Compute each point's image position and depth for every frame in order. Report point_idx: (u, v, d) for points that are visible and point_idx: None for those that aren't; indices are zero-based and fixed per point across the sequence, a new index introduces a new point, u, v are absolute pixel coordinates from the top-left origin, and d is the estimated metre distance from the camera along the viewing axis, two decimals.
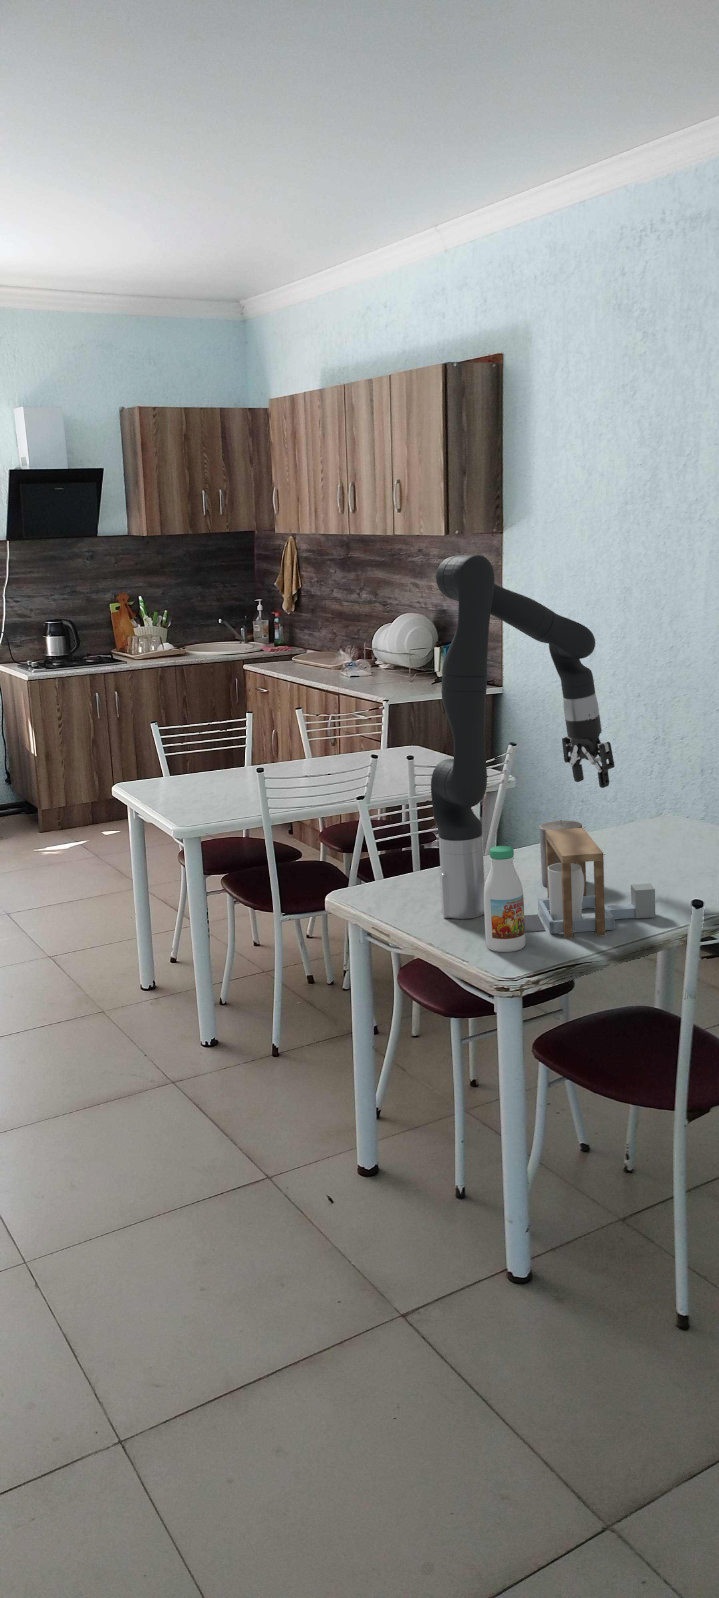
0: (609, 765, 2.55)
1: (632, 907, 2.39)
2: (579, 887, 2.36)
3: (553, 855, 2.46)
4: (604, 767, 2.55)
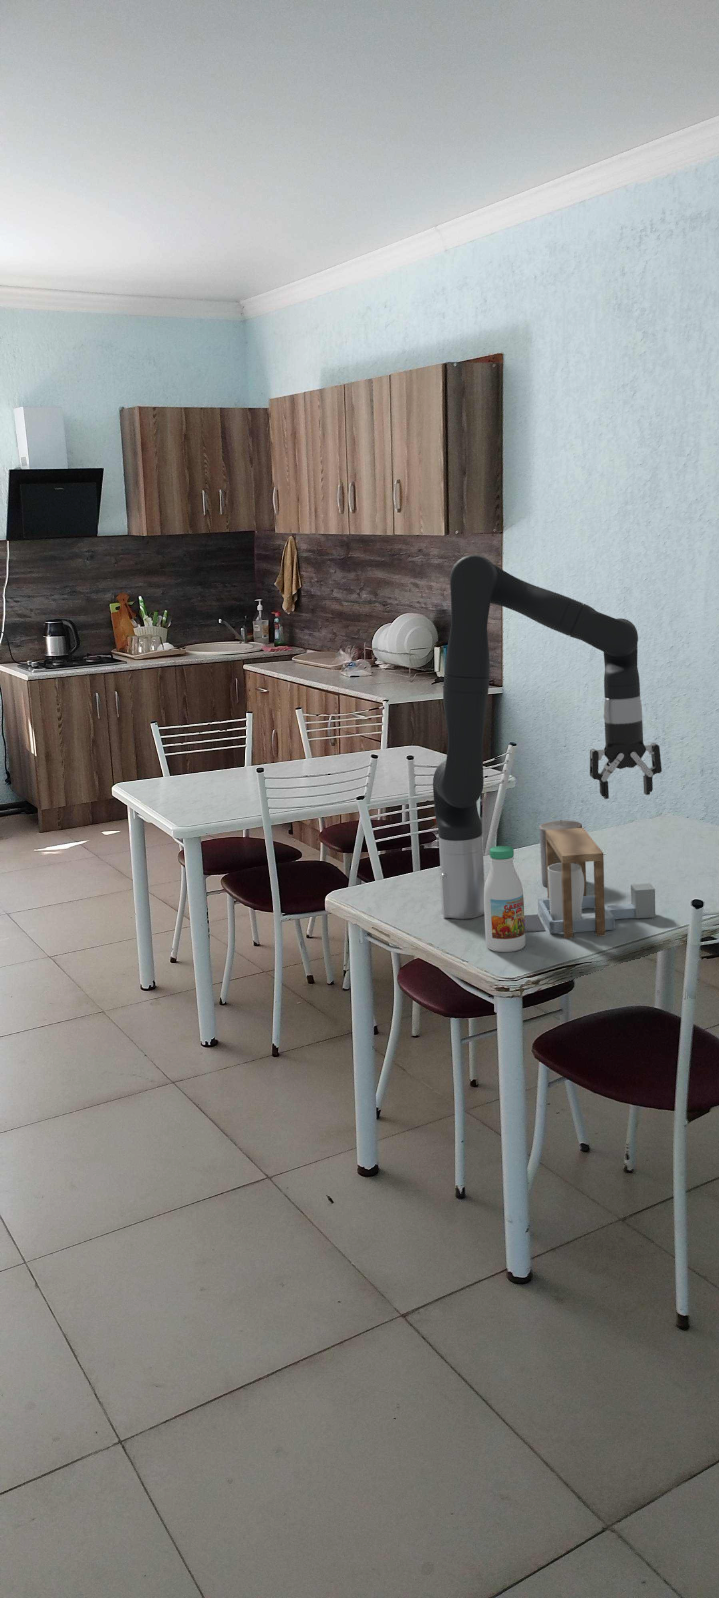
0: None
1: (632, 907, 2.39)
2: (579, 887, 2.36)
3: (553, 855, 2.46)
4: (659, 769, 2.38)
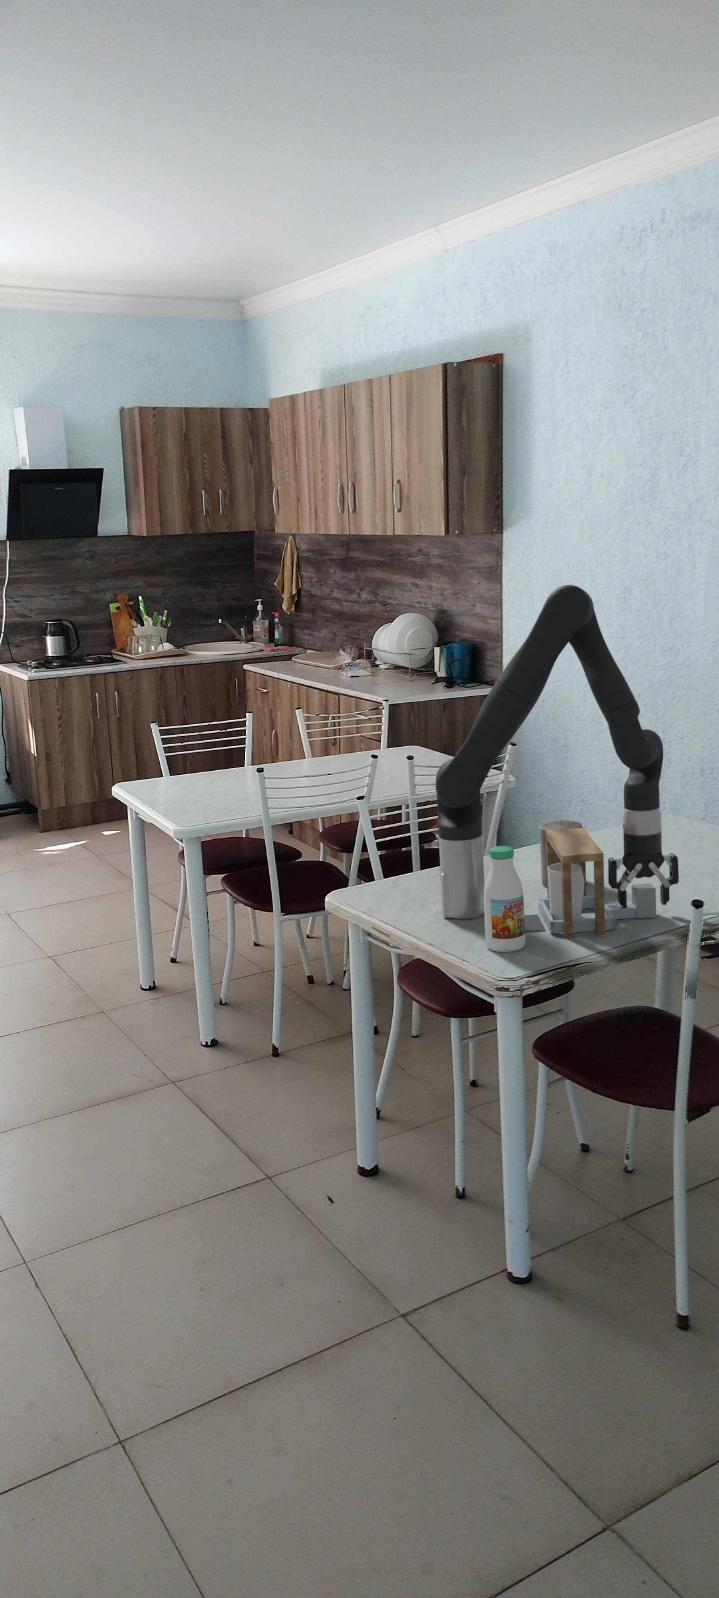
0: None
1: (633, 907, 2.39)
2: (579, 887, 2.36)
3: (553, 855, 2.46)
4: (676, 880, 2.38)
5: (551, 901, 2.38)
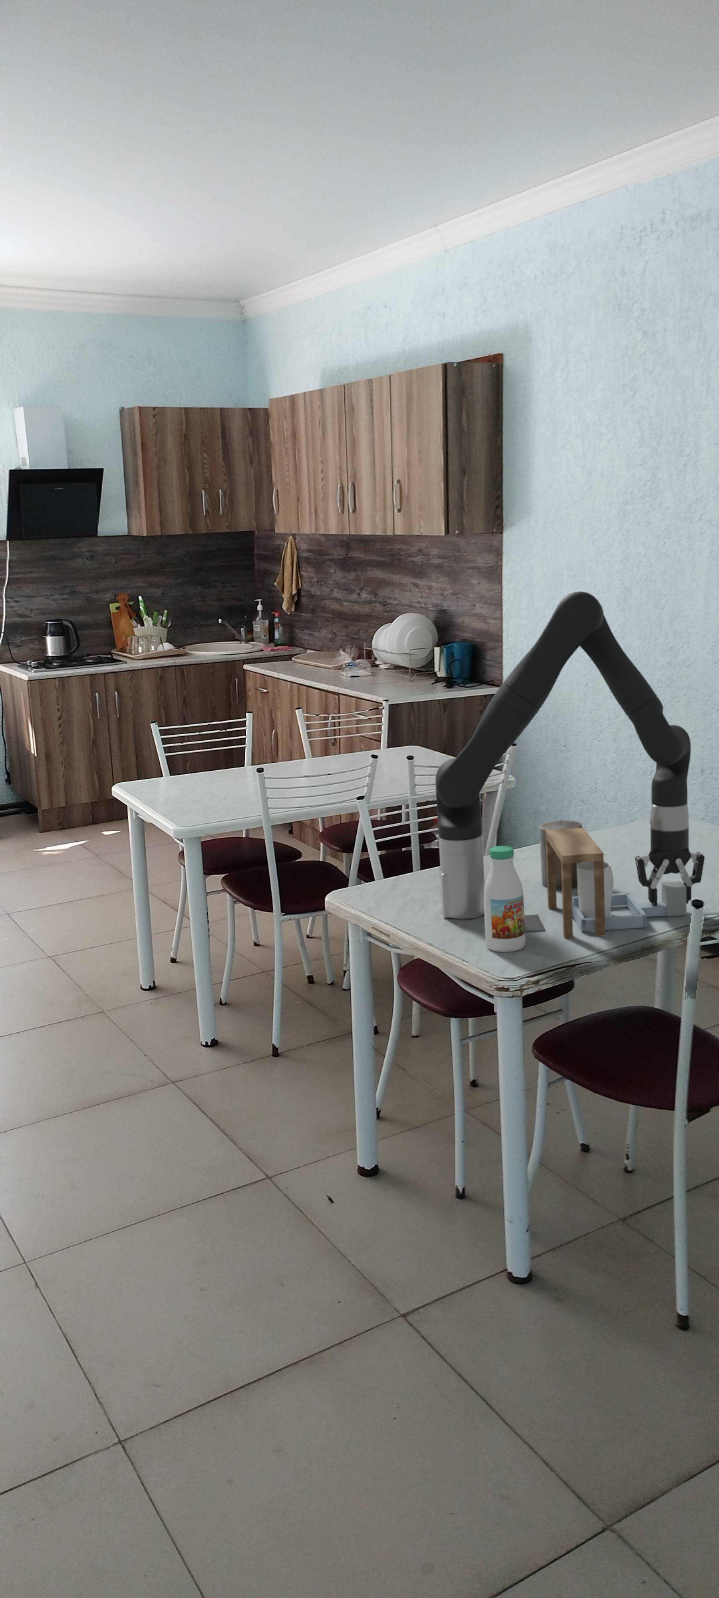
0: None
1: (663, 905, 2.39)
2: (608, 885, 2.36)
3: (553, 855, 2.46)
4: (699, 879, 2.38)
5: (580, 899, 2.37)
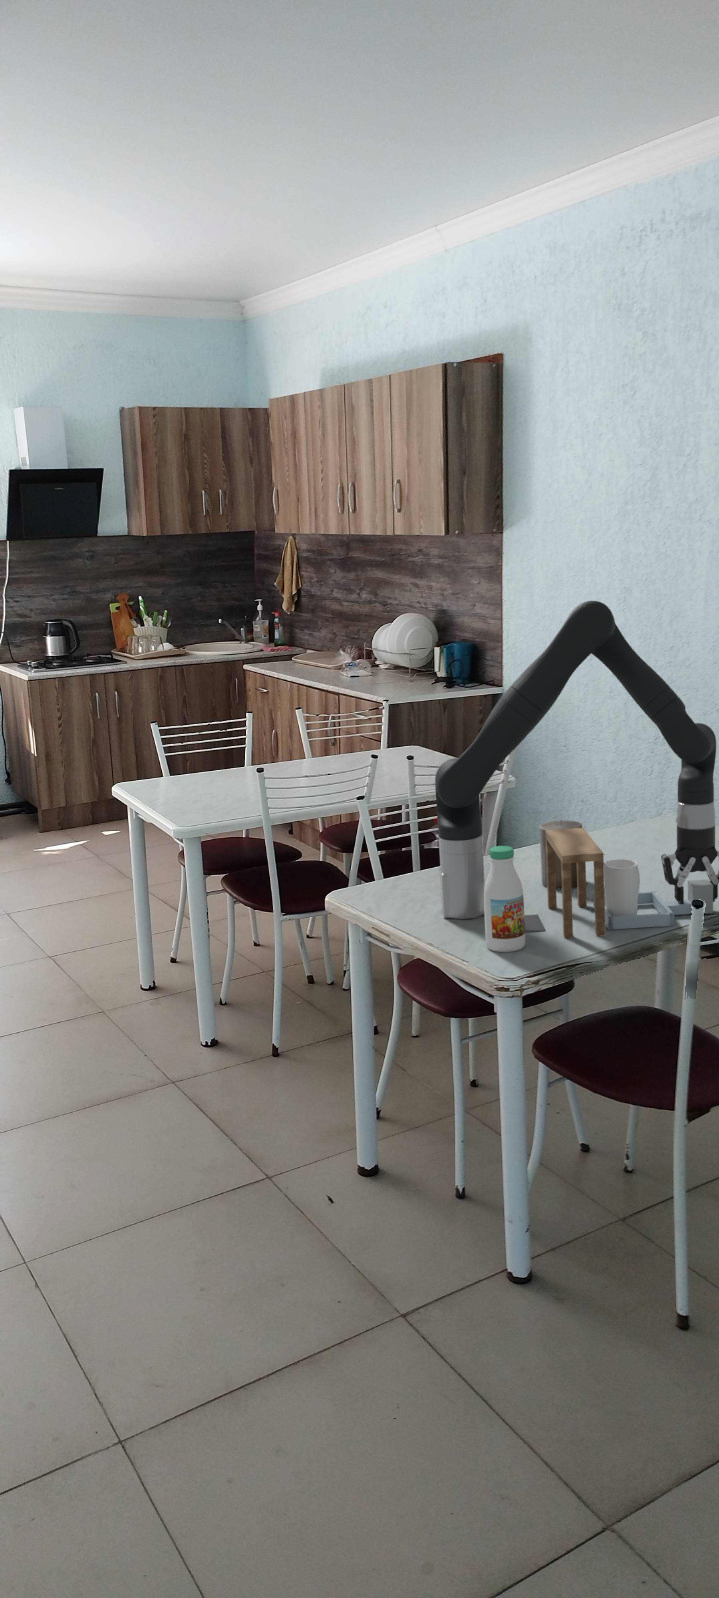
0: None
1: (690, 903, 2.39)
2: (635, 883, 2.36)
3: (553, 855, 2.46)
4: None
5: (607, 897, 2.37)
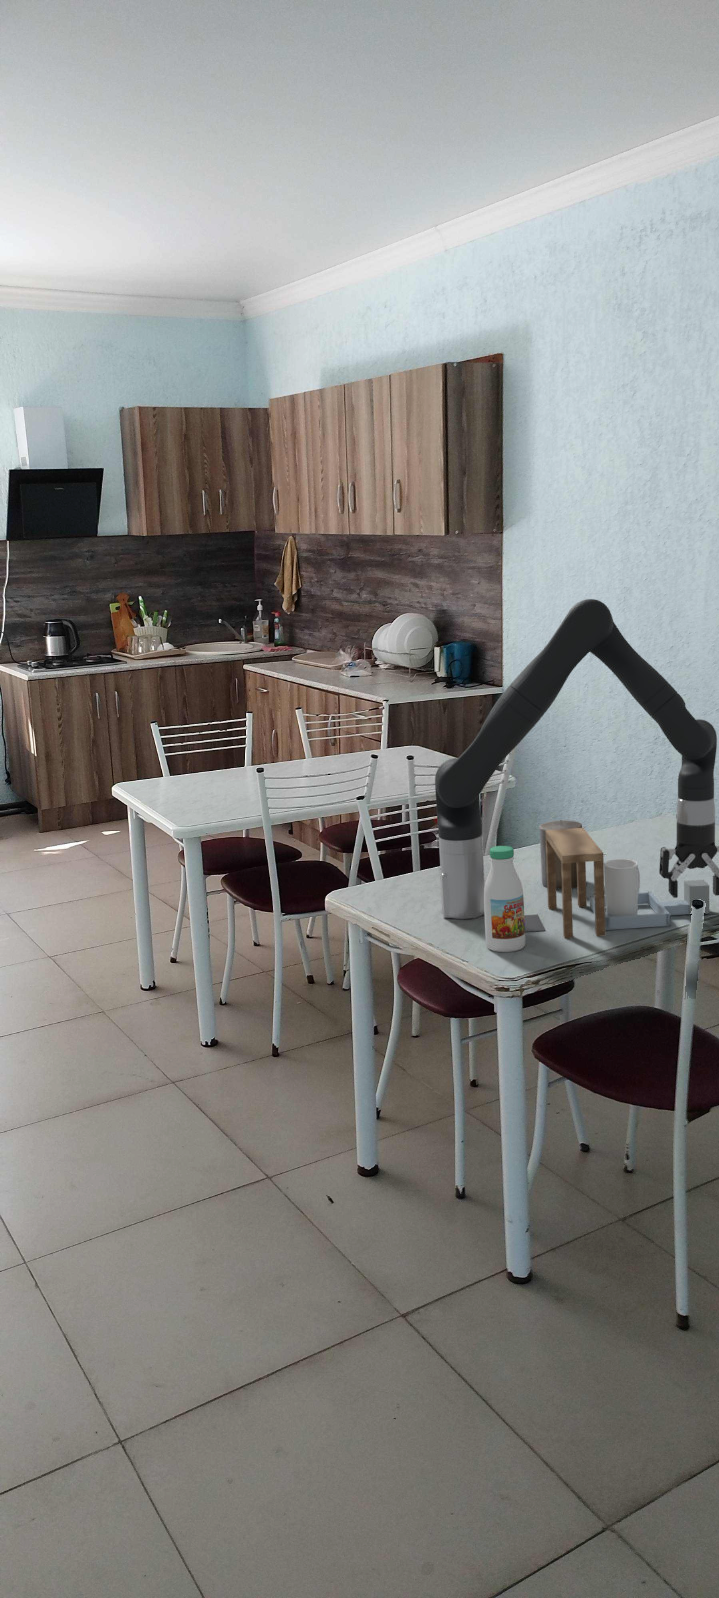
0: None
1: (686, 903, 2.39)
2: (635, 883, 2.36)
3: (553, 855, 2.46)
4: None
5: (607, 897, 2.37)
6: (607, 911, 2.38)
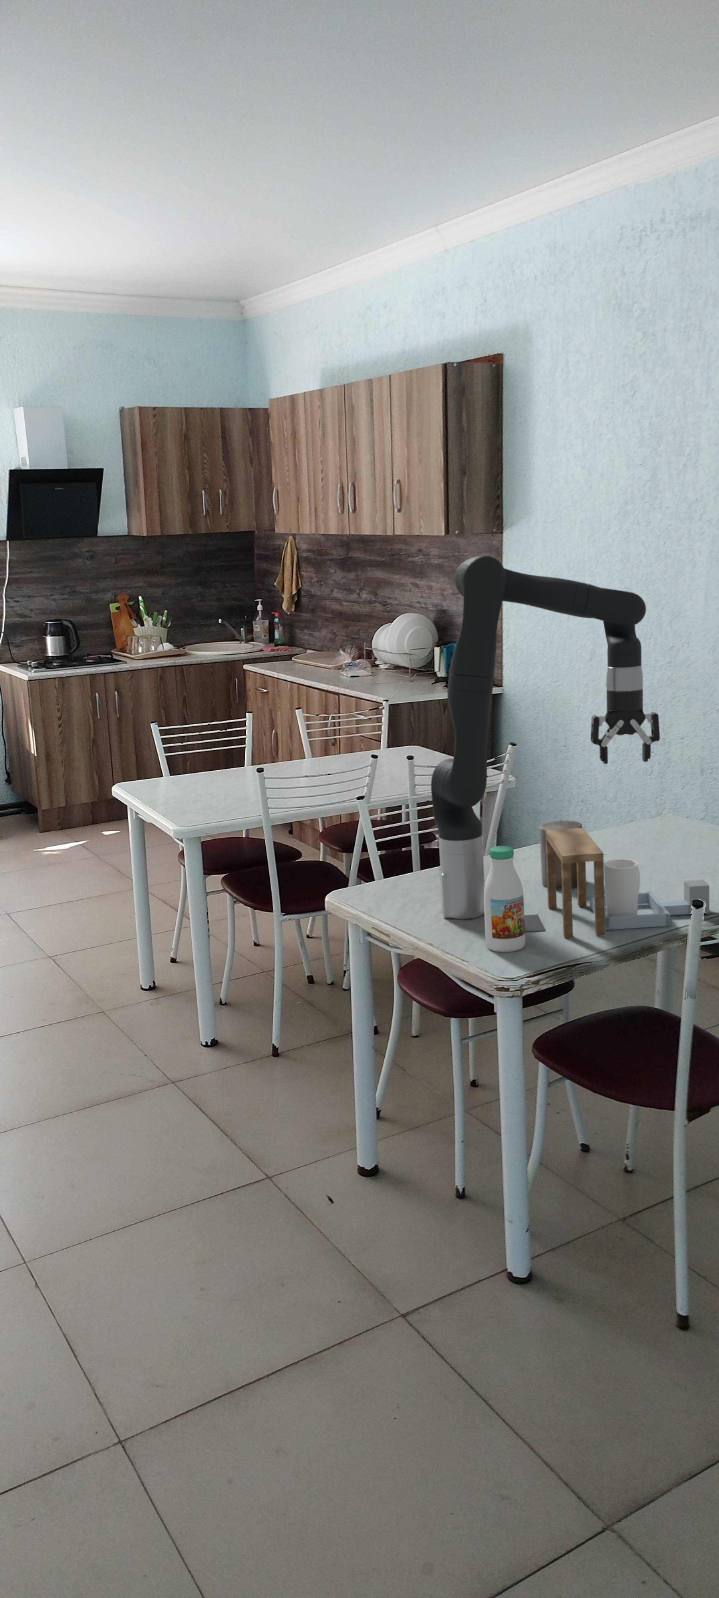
0: None
1: (686, 903, 2.39)
2: (635, 883, 2.36)
3: (553, 855, 2.46)
4: (657, 737, 2.48)
5: (607, 897, 2.37)
6: (607, 911, 2.38)
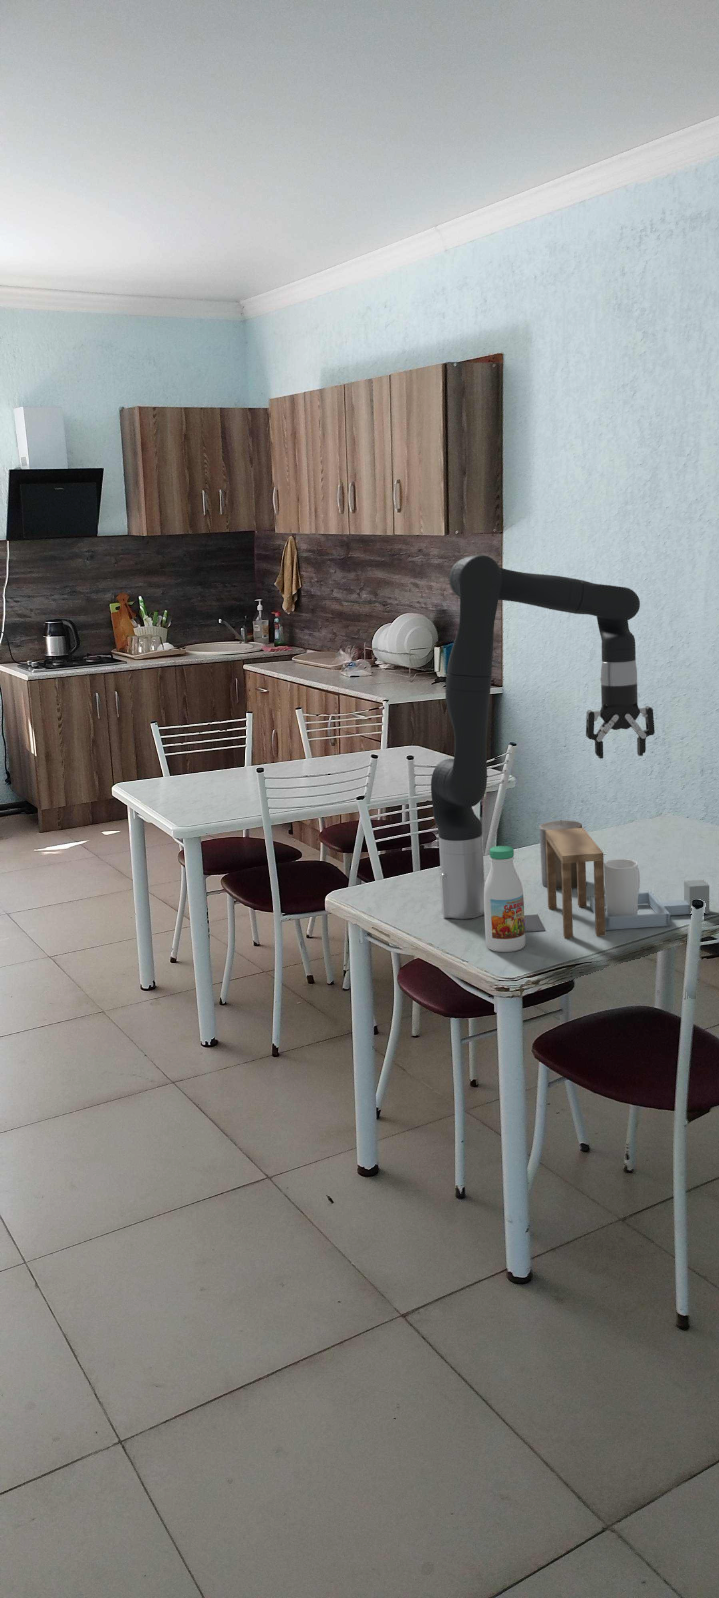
0: None
1: (686, 903, 2.39)
2: (635, 883, 2.36)
3: (553, 855, 2.46)
4: (652, 731, 2.49)
5: (607, 897, 2.37)
6: (607, 911, 2.38)
